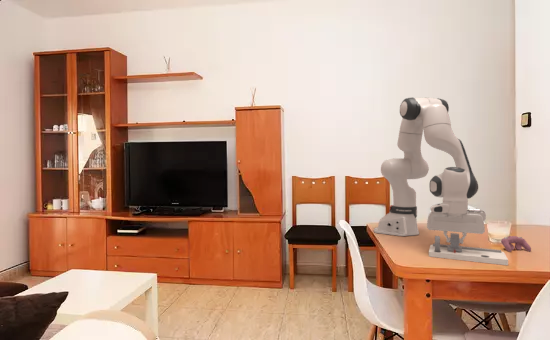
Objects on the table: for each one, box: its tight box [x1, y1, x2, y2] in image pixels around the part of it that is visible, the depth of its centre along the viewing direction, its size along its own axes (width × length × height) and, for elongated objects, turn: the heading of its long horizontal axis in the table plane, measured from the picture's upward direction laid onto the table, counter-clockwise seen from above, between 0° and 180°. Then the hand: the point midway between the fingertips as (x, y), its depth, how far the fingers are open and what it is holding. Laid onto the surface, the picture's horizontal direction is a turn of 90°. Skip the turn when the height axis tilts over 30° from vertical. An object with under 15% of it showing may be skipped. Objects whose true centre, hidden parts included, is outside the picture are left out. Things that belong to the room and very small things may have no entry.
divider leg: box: [447, 232, 463, 252], centre depth 134 cm, size 5×7×6 cm
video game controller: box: [500, 235, 532, 253], centre depth 142 cm, size 10×5×7 cm, turn 93°
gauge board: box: [428, 235, 509, 266], centre depth 133 cm, size 26×12×8 cm, turn 62°
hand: (454, 242), depth 135 cm, fingers closed on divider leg, 3 cm apart
